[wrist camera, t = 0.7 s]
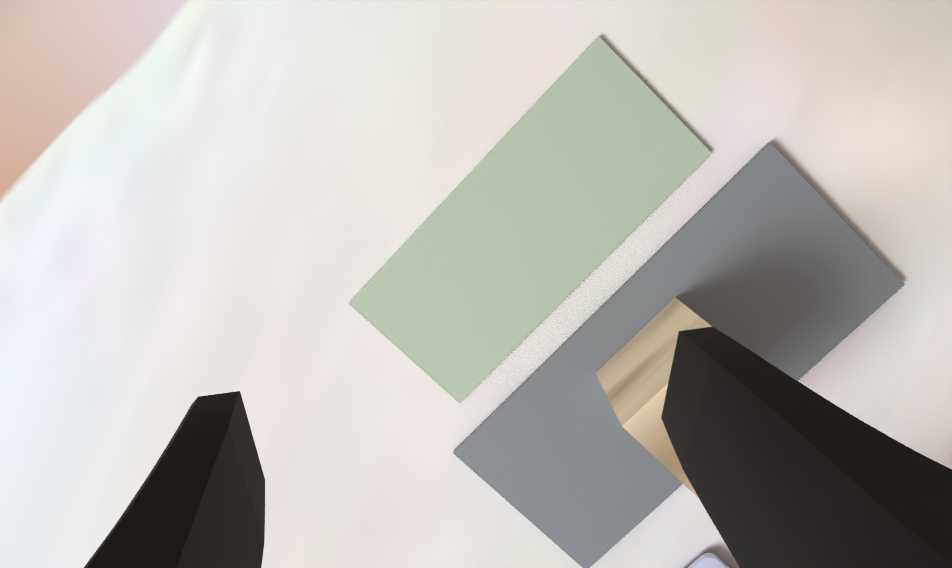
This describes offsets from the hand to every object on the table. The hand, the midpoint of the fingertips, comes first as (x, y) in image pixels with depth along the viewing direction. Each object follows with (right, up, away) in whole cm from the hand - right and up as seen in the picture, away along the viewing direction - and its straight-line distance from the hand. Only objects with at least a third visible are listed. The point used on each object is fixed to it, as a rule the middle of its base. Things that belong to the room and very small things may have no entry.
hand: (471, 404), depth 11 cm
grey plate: (+9, -2, +20) cm, 22 cm away
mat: (+2, +4, +19) cm, 19 cm away
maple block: (+9, -2, +20) cm, 22 cm away
